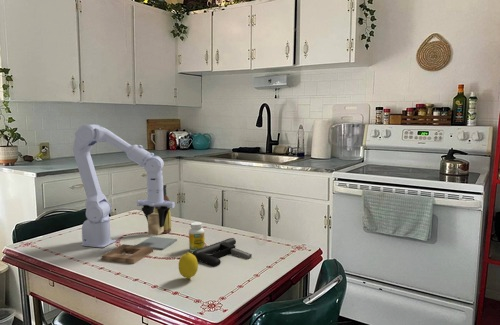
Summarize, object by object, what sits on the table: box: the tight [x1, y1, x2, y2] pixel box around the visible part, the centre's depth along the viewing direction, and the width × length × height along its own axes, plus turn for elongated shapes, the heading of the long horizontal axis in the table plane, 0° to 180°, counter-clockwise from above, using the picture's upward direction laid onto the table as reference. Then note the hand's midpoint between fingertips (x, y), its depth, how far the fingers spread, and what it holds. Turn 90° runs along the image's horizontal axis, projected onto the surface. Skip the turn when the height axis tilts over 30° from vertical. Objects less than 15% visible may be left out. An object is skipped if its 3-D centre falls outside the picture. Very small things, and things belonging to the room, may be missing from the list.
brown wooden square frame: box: [101, 244, 154, 265], centre depth 135 cm, size 12×12×2 cm
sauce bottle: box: [154, 182, 172, 235], centre depth 161 cm, size 7×6×20 cm
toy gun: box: [191, 237, 253, 267], centre depth 135 cm, size 3×20×16 cm
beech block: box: [147, 212, 164, 236], centre depth 146 cm, size 4×4×7 cm
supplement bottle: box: [188, 221, 206, 253], centre depth 140 cm, size 5×5×10 cm
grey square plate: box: [135, 236, 178, 251], centre depth 147 cm, size 11×11×1 cm
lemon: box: [178, 252, 199, 280], centre depth 115 cm, size 6×6×8 cm
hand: (156, 226), depth 147 cm, fingers closed on beech block, 4 cm apart
